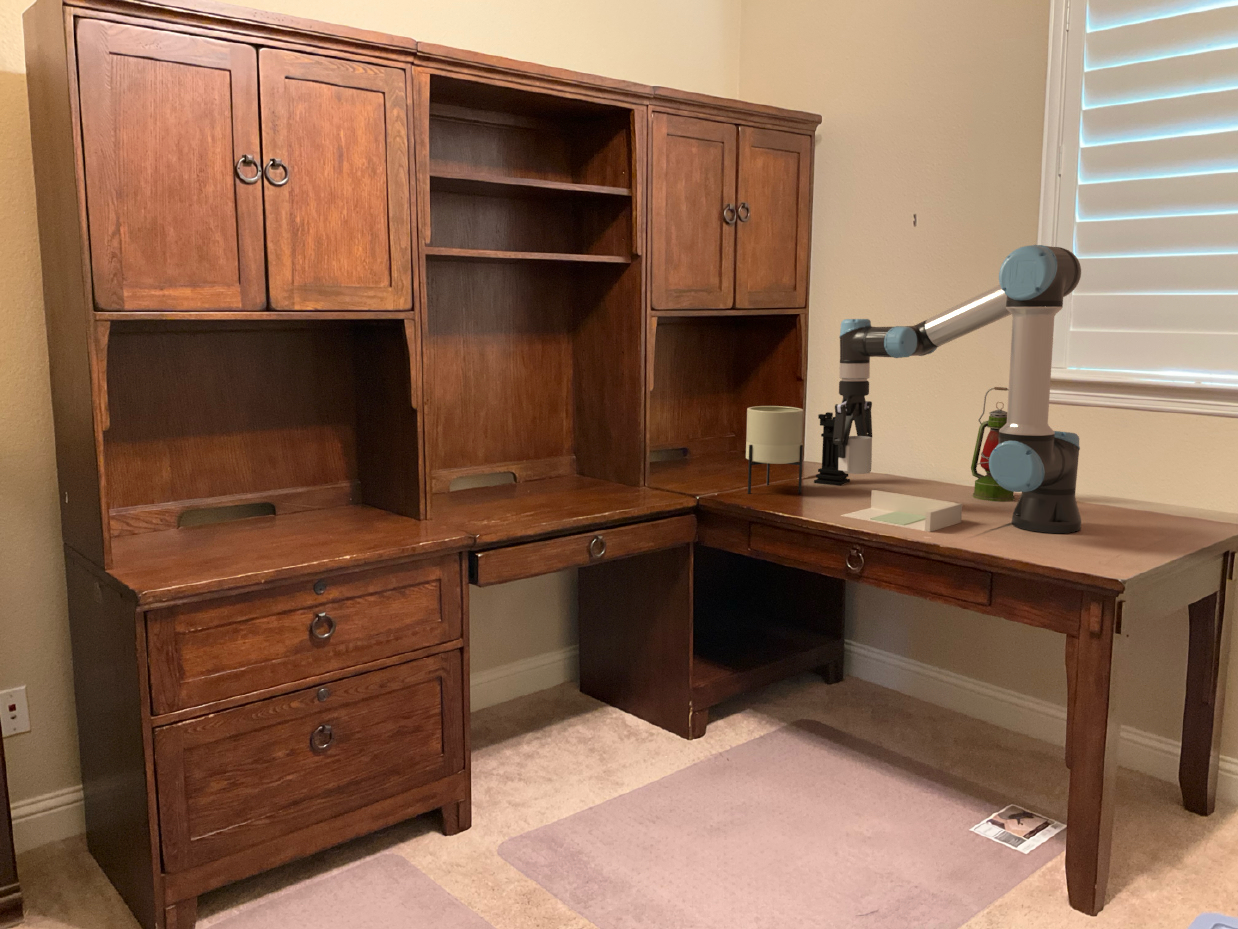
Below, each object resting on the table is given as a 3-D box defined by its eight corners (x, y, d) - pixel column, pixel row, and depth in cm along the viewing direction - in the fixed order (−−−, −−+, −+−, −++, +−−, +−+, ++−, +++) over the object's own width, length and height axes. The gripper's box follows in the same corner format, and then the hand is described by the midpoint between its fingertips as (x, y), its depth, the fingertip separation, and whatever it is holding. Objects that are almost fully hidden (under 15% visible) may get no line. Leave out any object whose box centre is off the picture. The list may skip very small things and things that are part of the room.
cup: (856, 475, 258) (857, 439, 256) (829, 470, 266) (829, 436, 265) (877, 472, 262) (878, 437, 260) (849, 467, 270) (849, 434, 269)
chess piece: (849, 481, 300) (853, 413, 296) (840, 485, 293) (843, 416, 290) (824, 478, 304) (826, 412, 300) (813, 482, 297) (816, 414, 294)
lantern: (1027, 498, 276) (1035, 387, 271) (1010, 504, 268) (1018, 390, 264) (977, 491, 286) (984, 384, 281) (960, 496, 278) (967, 386, 273)
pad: (929, 518, 248) (929, 516, 248) (903, 525, 240) (903, 524, 240) (896, 512, 255) (896, 511, 254) (870, 519, 246) (870, 518, 246)
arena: (961, 524, 244) (962, 503, 243) (929, 533, 234) (930, 512, 233) (873, 508, 261) (874, 489, 260) (840, 517, 251) (840, 497, 250)
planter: (791, 498, 273) (794, 413, 270) (736, 492, 281) (738, 409, 277) (810, 489, 286) (813, 408, 283) (757, 484, 294) (759, 404, 290)
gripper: (863, 377, 270) (861, 463, 273) (818, 381, 256) (817, 471, 259) (888, 378, 265) (885, 465, 268) (844, 382, 251) (842, 474, 254)
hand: (852, 468), depth 264 cm, fingers closed on cup, 7 cm apart
